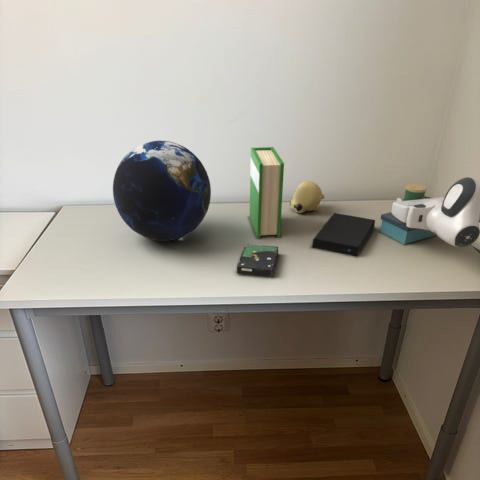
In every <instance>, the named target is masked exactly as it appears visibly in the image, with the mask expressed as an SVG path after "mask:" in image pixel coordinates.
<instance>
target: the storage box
mask: <svg viewBox="0 0 480 480" xmlns="http://www.w3.org/2000/svg"><path fill="white" fill-rule="evenodd" d="M379 219H381V224H380V229H379V232H380V233H382V234H383V235H385V236H387V237H389V238H391V239H393V240H395V241H397V242H399V243H401V244H403V245H408V244H411V243H414V242H417V241H418V242H419V241H421V240H424V239H428V238H431V237H434V236H435V233H433V232H432V231H430V230H425V229H418V228H409V227H407V226H406V223H404V222H402V221H400V220H399V219H397V218H396V217H395V216H394V215H393V214H392V212H391V211H390V212H386V213H383V214H380V218H379Z"/></svg>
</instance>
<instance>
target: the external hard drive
mask: <svg viewBox="0 0 480 480" xmlns="http://www.w3.org/2000/svg"><path fill="white" fill-rule="evenodd" d="M375 224H376V219H372V218H366V217H360V216H356V215H355V216H354V215H350V214H343V213H338V212H333V214H332V215H331V216H330V218H328V220H327V221H326V222H325V224H324V225H323V226H322V227H321V229H319V231H318V232H317V234H316V235H314V237H313V238H312V245H311V247H312V248H313V249H318V250H322V251H329V252H332V253H338V254H343V255H347V256H353V257H357V256H358V255H359V253H360V252H361V250H362V248H363V246H364V245H365V243H366V242H367V240H368V239H369V237H370V235H371V233H372V231H373V230H374V228H375Z"/></svg>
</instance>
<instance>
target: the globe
mask: <svg viewBox="0 0 480 480" xmlns="http://www.w3.org/2000/svg"><path fill="white" fill-rule="evenodd" d="M112 196H113V200H114V202H113V203H114V206H115V208H116V210H117V212H118V214H119V216H120V218H121V219H122V220H123V222H124V223H125V224H126V225H127V226H128V227H129V228H130V229H131V230H132V231H134V232H135V233H136V234H139V236H142V237H144V238H146V239H148V240H152V241H159V242H168V241H170V242H171V241H175V240H178V239H181V238H183V237H186V236H188V235H189V234H191V233H192V232H193V231H194V230H196V229H197V227H199V226H200V224H201V223H202V222H203V221H204V218H205V217H206V215H207V213H208V211H209V208H210V203H211V197H212V188H211V181H210V178H209V175H208V171H207V169H206V168H205V166H204V164H203V163H202V162H201V160H200V159H199V158H198V157H197V156H196V154H195V153H194V152H193V151H191V150H189V148H187V147H186V146H183V145H181V144H179V143H176V142H174V141H169V140H151V141H147V142H144V143H141V144H139V145H138V146H136V147H134V148H132V149H131V150H130V151H129V152H127V154H125V156H123V158H122V159H121V161H120V162H119V164H118V166H117V168H116V170H115V172H114V176H113V181H112Z"/></svg>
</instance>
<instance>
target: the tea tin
mask: <svg viewBox="0 0 480 480" xmlns="http://www.w3.org/2000/svg"><path fill="white" fill-rule="evenodd" d="M426 191H427V186H426V185H424V184H421V183H414V182H413V183H407V184H406V185H405V190H404V195H403V199H404V201H407V200H418V199H424V196H426Z"/></svg>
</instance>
